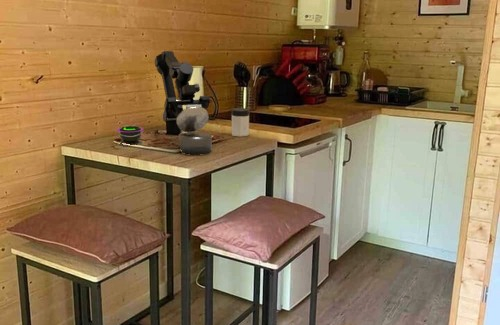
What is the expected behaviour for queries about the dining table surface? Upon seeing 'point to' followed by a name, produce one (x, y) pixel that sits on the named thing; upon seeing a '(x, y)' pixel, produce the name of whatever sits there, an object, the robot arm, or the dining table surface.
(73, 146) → the dining table surface
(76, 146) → the dining table surface
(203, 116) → the cooker lid
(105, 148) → the dining table surface
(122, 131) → the toy cauldron
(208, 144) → the cooker pot
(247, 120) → the jar
